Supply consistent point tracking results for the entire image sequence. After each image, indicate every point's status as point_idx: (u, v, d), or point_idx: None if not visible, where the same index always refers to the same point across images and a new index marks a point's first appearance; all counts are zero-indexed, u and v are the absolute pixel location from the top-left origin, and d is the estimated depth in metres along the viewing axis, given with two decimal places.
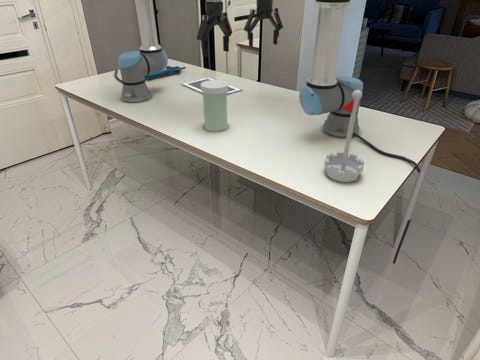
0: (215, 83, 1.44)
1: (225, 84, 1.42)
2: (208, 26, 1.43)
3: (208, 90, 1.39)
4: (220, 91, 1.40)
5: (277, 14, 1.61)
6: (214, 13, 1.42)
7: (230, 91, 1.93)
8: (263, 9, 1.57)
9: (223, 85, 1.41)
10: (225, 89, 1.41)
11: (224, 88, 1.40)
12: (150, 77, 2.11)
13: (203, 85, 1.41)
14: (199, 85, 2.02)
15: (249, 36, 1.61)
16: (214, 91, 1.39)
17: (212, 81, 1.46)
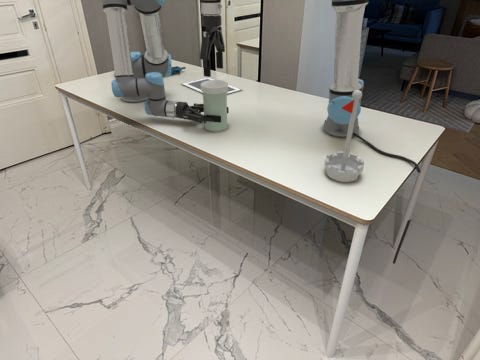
0: (215, 83, 1.44)
1: (225, 84, 1.42)
2: None
3: (208, 90, 1.39)
4: (220, 91, 1.40)
5: None
6: None
7: (230, 91, 1.93)
8: None
9: (223, 85, 1.41)
10: (225, 89, 1.41)
11: (224, 88, 1.40)
12: None
13: (203, 85, 1.41)
14: (199, 85, 2.02)
15: None
16: (214, 91, 1.39)
17: (212, 81, 1.46)
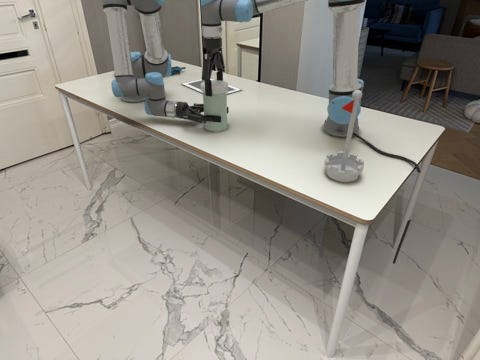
0: (215, 83, 1.44)
1: (225, 84, 1.42)
2: None
3: None
4: (220, 91, 1.40)
5: None
6: None
7: (230, 91, 1.93)
8: None
9: (223, 85, 1.41)
10: (225, 89, 1.41)
11: (224, 88, 1.40)
12: None
13: (203, 85, 1.41)
14: (199, 85, 2.02)
15: None
16: (214, 91, 1.39)
17: (212, 81, 1.46)
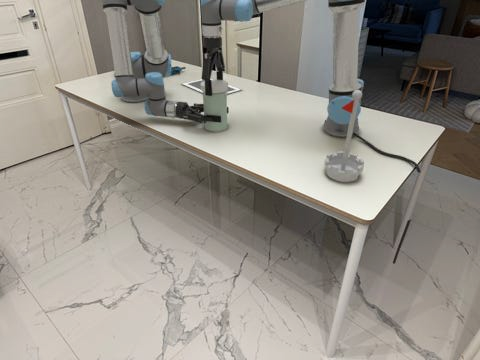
0: (212, 83, 1.43)
1: (218, 80, 1.47)
2: None
3: (225, 87, 1.40)
4: None
5: None
6: None
7: (230, 91, 1.93)
8: None
9: (221, 81, 1.46)
10: None
11: None
12: None
13: (215, 86, 1.39)
14: (199, 85, 2.02)
15: None
16: (227, 87, 1.43)
17: None
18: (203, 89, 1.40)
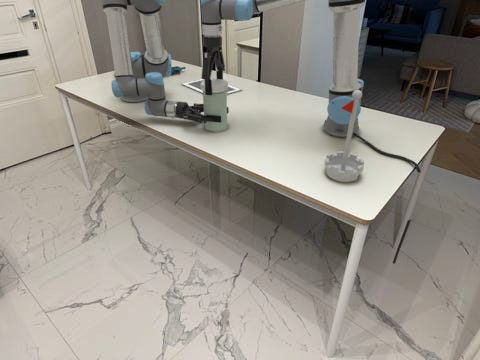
0: (212, 83, 1.42)
1: None
2: None
3: None
4: None
5: None
6: None
7: (230, 91, 1.93)
8: None
9: None
10: None
11: None
12: None
13: (225, 83, 1.42)
14: (199, 85, 2.02)
15: None
16: None
17: (212, 85, 1.40)
18: (220, 89, 1.39)
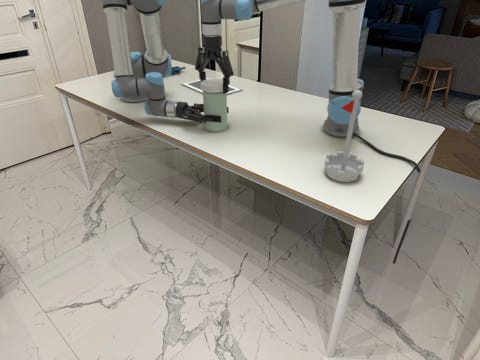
0: (214, 82, 1.42)
1: (204, 84, 1.40)
2: None
3: None
4: None
5: (223, 59, 1.33)
6: None
7: (230, 91, 1.93)
8: (209, 49, 1.35)
9: (204, 83, 1.41)
10: (201, 86, 1.42)
11: None
12: None
13: (218, 79, 1.46)
14: (199, 85, 2.02)
15: None
16: None
17: (221, 83, 1.41)
18: None
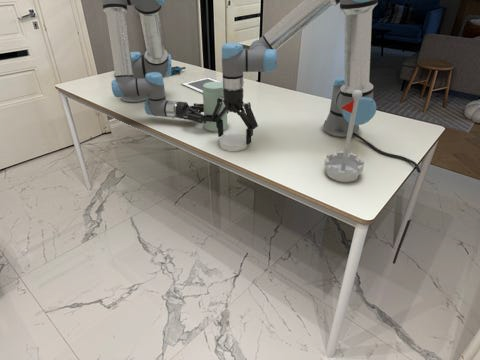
0: (234, 140, 1.37)
1: (224, 142, 1.35)
2: None
3: None
4: None
5: (246, 111, 1.26)
6: None
7: None
8: (229, 101, 1.29)
9: (223, 141, 1.36)
10: (220, 144, 1.37)
11: None
12: None
13: (237, 134, 1.41)
14: (199, 85, 2.02)
15: (217, 124, 1.38)
16: None
17: (242, 140, 1.36)
18: None
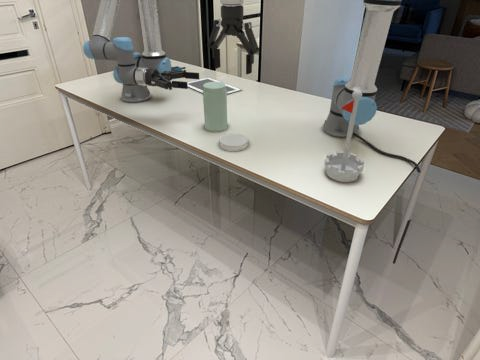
0: (234, 140, 1.37)
1: (224, 142, 1.35)
2: None
3: None
4: None
5: (247, 32, 1.11)
6: None
7: (230, 91, 1.93)
8: (227, 22, 1.13)
9: (223, 141, 1.36)
10: (220, 144, 1.37)
11: None
12: None
13: (237, 134, 1.41)
14: (199, 85, 2.02)
15: (213, 54, 1.23)
16: None
17: (242, 140, 1.36)
18: None
